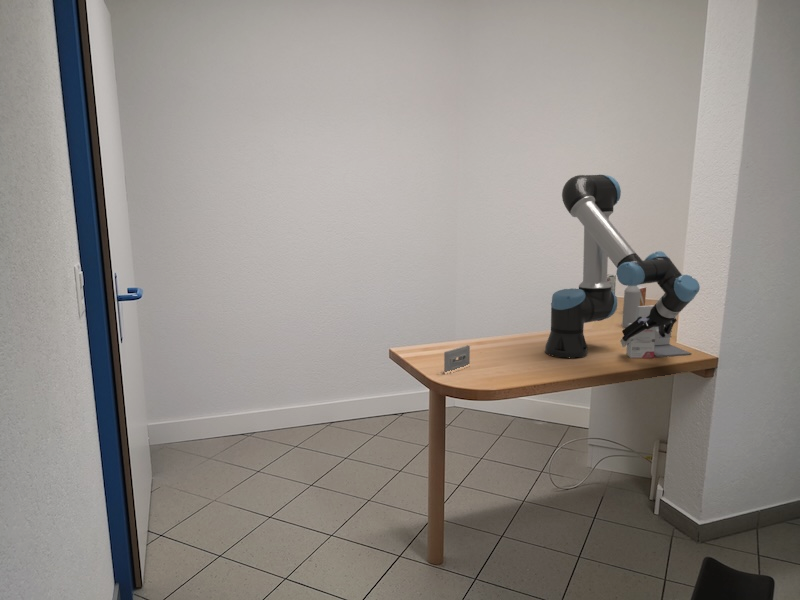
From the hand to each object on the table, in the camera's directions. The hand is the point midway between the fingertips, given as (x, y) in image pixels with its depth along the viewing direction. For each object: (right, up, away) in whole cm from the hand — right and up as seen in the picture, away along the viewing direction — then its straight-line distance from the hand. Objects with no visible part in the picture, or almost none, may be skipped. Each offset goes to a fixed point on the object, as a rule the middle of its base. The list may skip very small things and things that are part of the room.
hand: (636, 342), depth 216 cm
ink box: (0, -5, -2) cm, 5 cm away
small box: (+25, +9, +65) cm, 70 cm away
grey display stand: (+11, -3, +6) cm, 13 cm away
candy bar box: (+15, +12, +80) cm, 82 cm away
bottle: (+14, +4, +40) cm, 43 cm away
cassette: (-67, -8, -15) cm, 69 cm away
